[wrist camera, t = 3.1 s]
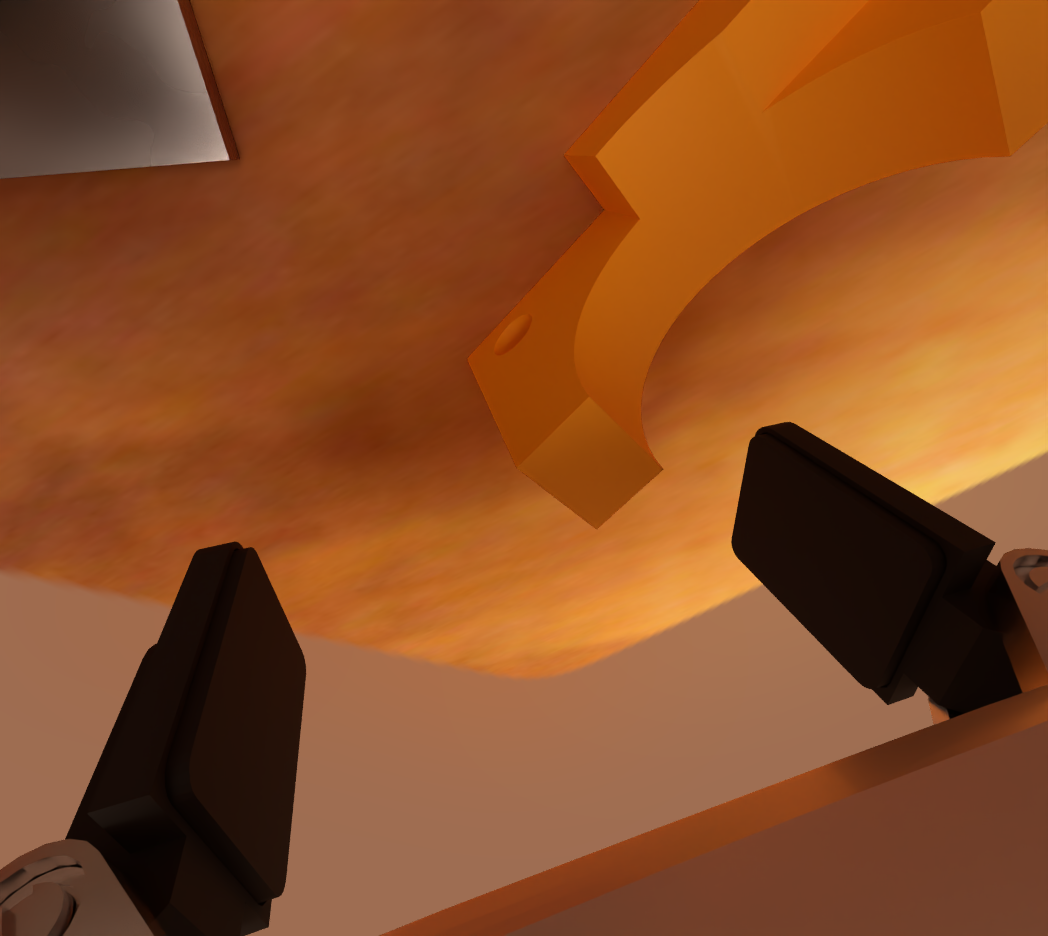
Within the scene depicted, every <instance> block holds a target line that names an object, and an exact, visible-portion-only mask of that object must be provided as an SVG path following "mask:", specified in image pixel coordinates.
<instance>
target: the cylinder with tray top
mask: <svg viewBox="0 0 1048 936" xmlns="http://www.w3.org/2000/svg"><path fill="white" fill-rule="evenodd" d="M237 159H240V158H239V155H238V152H237V149H236V146H235V143H234V139H233V136H232V133H231V130H230V127H229V124H228V120H227V117H226V114H225V111H224V108H223V105H222V102H221V98H220V95H219V92H218V89H217V86H216V83H215V79H214V76H213V73H212V70H211V67H210V64H209V61H208V57H207V54H206V51H205V48H204V45H203V42H202V38H201V35H200V32H199V29H198V26H197V23H196V20H195V16H194V13H193V10H192V7H191V4H190V1H189V0H0V179H2V178H15V177H27V176H39V175H52V174H64V173H76V172H89V171H101V170H113V169H126V168H138V167H150V166H163V165H175V164H187V163H200V162H212V161H224V160H237Z"/></svg>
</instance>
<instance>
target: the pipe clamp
mask: <svg viewBox="0 0 1048 936" xmlns="http://www.w3.org/2000/svg"><path fill="white" fill-rule="evenodd" d="M1047 123H1048V0H699V1H698V2H697V4H696V5H695V6H694V7H693V8H692V9H691V10H690V12H689V13H688V14H687V15H686V16H685V17H684V18H683V20H682V21H681V22H680V23H679V24H678V25H677V26H676V28H675V29H674V30H673V31H672V32H671V33H670V34H669V35H668V37H667V38H666V39H665V40H664V41H663V42H662V43H661V45H660V46H659V47H658V48H657V49H656V50H655V51H654V53H653V54H652V55H651V56H650V57H649V58H648V59H647V61H646V62H645V63H644V64H643V65H642V66H641V67H640V69H639V70H638V71H637V72H636V73H635V74H634V75H633V77H632V78H631V79H630V80H629V81H628V82H627V83H626V85H625V86H624V87H623V88H622V89H621V90H620V91H619V93H618V94H617V95H616V96H615V97H614V98H613V99H612V101H611V102H610V103H609V104H608V105H607V106H606V107H605V109H604V110H603V111H602V112H601V113H600V114H599V115H598V116H597V118H596V119H595V120H594V121H593V122H592V123H591V124H590V126H589V127H588V128H587V129H586V130H585V131H584V132H583V134H582V135H581V136H580V137H579V138H578V139H577V140H576V142H575V143H574V144H573V145H572V146H571V147H570V148H569V150H568V151H567V152H566V153H565V154H564V157H565V158H566V159H567V161H568V162H569V163H570V165H571V166H572V167H573V169H574V170H575V171H576V173H577V174H578V175H579V177H580V178H581V179H582V181H583V182H584V183H585V185H586V186H587V187H588V189H589V190H590V191H591V193H592V194H593V195H594V197H595V198H596V199H597V201H598V202H599V203H600V205H601V206H602V207H603V209H604V211H603V212H602V213H601V214H600V215H599V216H598V217H597V218H596V219H595V221H594V222H593V223H592V224H591V225H590V226H589V227H588V228H587V229H586V230H585V231H584V232H583V234H582V235H581V236H580V237H579V238H578V239H577V240H576V241H575V242H574V243H573V244H572V245H571V247H570V248H569V249H568V250H567V251H566V252H565V253H564V254H563V255H562V256H561V257H560V258H559V260H558V261H557V262H556V263H555V264H554V265H553V266H552V267H551V268H550V269H549V270H548V271H547V273H546V274H545V275H544V276H543V277H542V278H541V279H540V280H539V281H538V282H537V283H536V284H535V286H534V287H533V288H532V289H531V290H530V291H529V292H528V293H527V294H526V295H525V296H524V297H523V299H522V300H521V301H520V302H519V303H518V304H517V305H516V306H515V307H514V308H513V309H512V310H511V311H510V313H509V314H508V315H507V316H506V317H505V318H504V319H503V320H502V321H501V322H500V323H499V324H498V326H497V327H496V328H495V329H494V330H493V331H492V332H491V333H490V334H489V335H488V336H487V337H486V339H485V340H484V341H483V342H482V343H481V344H480V345H479V346H478V347H477V348H476V349H475V350H474V352H473V353H472V354H471V355H470V356H469V357H468V358H467V361H468V363H469V365H470V367H471V370H472V372H473V374H474V376H475V378H476V381H477V383H478V385H479V387H480V389H481V392H482V394H483V396H484V398H485V400H486V402H487V405H488V407H489V409H490V411H491V413H492V416H493V418H494V420H495V422H496V424H497V426H498V429H499V431H500V433H501V435H502V437H503V440H504V442H505V444H506V446H507V448H508V451H509V453H510V455H511V457H512V459H513V461H514V464H515V466H516V468H517V469H518V470H520V471H521V472H522V473H524V474H525V475H526V476H527V477H529V478H530V479H531V480H533V481H534V482H535V483H537V484H538V485H539V486H541V487H542V488H543V489H544V490H546V491H547V492H548V493H550V494H551V495H552V496H554V497H555V498H556V499H557V500H559V501H560V502H561V503H563V504H564V505H565V506H567V507H568V508H569V509H571V510H572V511H573V512H574V513H576V514H577V515H578V516H580V517H581V518H582V519H584V520H585V521H586V522H587V523H589V524H590V525H591V526H593V527H594V528H595V529H598V528H599V527H600V526H601V525H602V524H603V523H604V522H605V521H607V520H608V519H609V518H610V517H611V516H612V515H613V514H614V513H615V512H617V511H618V510H619V509H620V508H621V507H622V506H623V505H624V504H625V503H627V502H628V501H629V500H630V499H631V498H632V497H633V496H634V495H635V494H636V493H638V492H639V491H640V490H641V489H642V488H643V487H644V486H645V485H646V484H648V483H649V482H650V481H651V480H652V479H653V478H654V477H655V476H656V475H658V474H659V473H660V472H661V471H662V470H663V468H662V467H661V466H660V464H659V463H658V462H657V460H656V459H655V458H654V456H653V454H652V452H651V450H650V449H649V447H648V444H647V441H646V439H645V436H644V432H643V427H642V421H641V401H642V393H643V388H644V383H645V379H646V376H647V373H648V370H649V367H650V364H651V362H652V360H653V357H654V355H655V353H656V351H657V349H658V347H659V345H660V343H661V341H662V340H663V338H664V337H665V335H666V333H667V332H668V330H669V328H670V327H671V326H672V324H673V323H674V321H675V320H676V319H677V317H678V316H679V314H680V313H681V312H682V311H683V309H684V308H685V307H686V306H687V305H688V303H689V302H690V301H691V300H692V299H693V298H694V297H695V295H696V294H697V293H698V292H699V291H700V290H701V289H702V288H703V287H704V286H705V285H706V284H707V283H708V282H709V281H710V280H711V279H712V278H713V277H714V276H715V275H716V274H717V273H719V272H720V271H721V270H722V269H723V268H724V267H725V266H726V265H728V264H729V263H730V262H731V261H732V260H734V259H735V258H736V257H737V256H739V255H740V254H741V253H742V252H744V251H745V250H746V249H748V248H749V247H750V246H752V245H753V244H755V243H756V242H757V241H759V240H760V239H762V238H763V237H765V236H766V235H768V234H769V233H771V232H772V231H774V230H775V229H777V228H778V227H780V226H782V225H783V224H785V223H787V222H788V221H790V220H792V219H793V218H795V217H797V216H799V215H800V214H802V213H804V212H806V211H808V210H810V209H812V208H814V207H816V206H817V205H819V204H822V203H824V202H826V201H828V200H830V199H832V198H834V197H836V196H839V195H841V194H843V193H846V192H848V191H850V190H853V189H855V188H858V187H860V186H863V185H865V184H868V183H871V182H874V181H877V180H879V179H882V178H885V177H888V176H892V175H895V174H898V173H902V172H905V171H908V170H912V169H917V168H921V167H925V166H929V165H933V164H939V163H945V162H950V161H956V160H963V159H972V158H982V157H1006V156H1011V155H1012V154H1013V153H1015V152H1016V151H1017V150H1018V149H1019V148H1020V147H1021V146H1022V145H1023V144H1025V143H1026V142H1027V141H1028V140H1029V139H1030V138H1031V137H1032V136H1033V135H1035V134H1036V133H1037V132H1038V131H1039V130H1040V129H1041V128H1042V127H1043V126H1045V125H1046V124H1047Z"/></svg>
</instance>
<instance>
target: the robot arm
mask: <svg viewBox="0 0 1048 936" xmlns="http://www.w3.org/2000/svg"><path fill="white" fill-rule="evenodd" d="M731 543H732V548H733V551H734V553H735V555H736V556H737V558H738V559H739V560H740V561H741V562H742V563H743V564H744V565H745V566H746V567H747V568H748V569H749V570H750V571H751V572H752V573H753V574H754V575H755V576H756V577H757V578H758V579H759V580H760V581H761V582H762V583H763V585H764V586H765V587H766V588H767V589H768V590H769V591H770V592H771V593H772V594H773V595H774V596H775V597H776V598H777V599H778V600H779V601H780V602H781V603H782V604H783V605H784V606H785V607H786V608H787V609H788V610H789V611H790V612H791V613H792V614H793V615H794V616H795V617H796V618H797V620H798V621H799V622H800V623H801V624H802V625H803V626H804V627H805V628H806V629H807V630H808V631H809V632H810V633H811V634H812V635H813V636H814V637H815V638H816V639H817V640H818V641H819V642H820V643H821V644H822V645H823V646H824V647H825V648H826V649H827V650H828V651H829V652H830V654H831V655H832V656H833V657H834V658H835V659H836V660H837V661H838V662H839V663H840V664H841V665H842V666H843V667H844V668H845V669H846V670H847V671H848V672H849V673H850V674H851V675H852V676H853V677H854V678H855V679H856V680H857V681H858V682H859V683H860V684H861V685H862V686H864V687H866V688H869V689H872V690H873V691H874V692H875V693H876V694H877V695H878V696H879V697H880V698H881V699H882V700H883V701H884V702H885V703H886V704H887V705H889V704H892V703H895V702H897V701H900V700H903V699H906V698H909V697H912V696H913V695H914V694H915V692H916V690H917V687H919V688H920V689H922V691H924V692H925V693H926V694H927V695H928V702H929V706H930V710H931V715H932V720H933V724H934V725H932V726H930V727H927V728H924V729H922V730H919V731H916V732H914V733H911V734H908V735H905V736H903V737H900V738H897V739H894V740H892V741H889V742H886V743H884V744H881V745H878V746H875V747H873V748H870V749H867V750H865V751H862V752H859V753H857V754H854V755H851V756H848V757H846V758H843V759H840V760H838V761H835V762H832V763H830V764H827V765H824V766H822V767H819V768H816V769H814V770H811V771H808V772H806V773H803V774H800V775H798V776H795V777H792V778H790V779H787V780H784V781H782V782H779V783H776V784H774V785H771V786H768V787H766V788H763V789H760V790H758V791H755V792H752V793H750V794H747V795H744V796H742V797H739V798H736V799H734V800H731V801H728V802H726V803H723V804H721V805H718V806H715V807H712V808H710V809H707V810H705V811H702V812H700V813H697V814H694V815H691V816H688V817H686V818H683V819H681V820H678V821H676V822H673V823H670V824H667V825H665V826H662V827H659V828H657V829H654V830H651V831H649V832H646V833H643V834H641V835H638V836H636V837H633V838H630V839H628V840H625V841H622V842H620V843H617V844H615V845H612V846H609V847H607V848H604V849H601V850H599V851H596V852H593V853H591V854H588V855H586V856H583V857H581V858H578V859H575V860H573V861H570V862H567V863H565V864H562V865H559V866H557V867H554V868H552V869H549V870H546V871H544V872H541V873H539V874H536V875H533V876H531V877H528V878H525V879H523V880H520V881H518V882H515V883H512V884H510V885H507V886H505V887H502V888H499V889H497V890H494V891H491V892H489V893H486V894H483V895H481V896H478V897H476V898H473V899H470V900H468V901H465V902H463V903H460V904H457V905H455V906H452V907H449V908H447V909H444V910H442V911H439V912H437V913H435V914H432V915H429V916H427V917H424V918H422V919H419V920H417V921H414V922H412V923H409V924H407V925H404V926H402V927H399V928H397V929H395V930H392V931H389V932H387V933H384V934H382V935H379V936H1048V550H1041V549H1031V548H1025V549H1014V550H1012V551H1009V552H1007V553H1005V554H1004V555H1003V557H1002V558H1001V560H1000V561H999V563H998V565H997V566H995V565H994V564H992V563H991V562H989V561H988V560H987V557H988V556H989V554H990V552H991V550H992V548H993V546H994V545H995V542H994V541H992V540H990V539H989V538H987V537H985V536H984V535H982V534H980V533H979V532H977V531H975V530H973V529H972V528H970V527H968V526H967V525H965V524H963V523H962V522H960V521H958V520H957V519H955V518H953V517H952V516H950V515H948V514H946V513H945V512H943V511H941V510H940V509H938V508H936V507H935V506H933V505H931V504H930V503H928V502H926V501H924V500H923V499H921V498H919V497H918V496H916V495H914V494H913V493H911V492H909V491H908V490H906V489H904V488H903V487H901V486H899V485H897V484H896V483H894V482H892V481H891V480H889V479H887V478H886V477H884V476H882V475H881V474H879V473H877V472H875V471H874V470H872V469H870V468H869V467H867V466H865V465H864V464H862V463H860V462H859V461H857V460H855V459H853V458H852V457H850V456H848V455H847V454H845V453H843V452H842V451H840V450H838V449H837V448H835V447H833V446H831V445H830V444H828V443H826V442H825V441H823V440H821V439H820V438H818V437H816V436H815V435H813V434H811V433H809V432H808V431H806V430H804V429H803V428H801V427H799V426H798V425H796V424H794V423H791V422H784V423H780V424H775V425H771V426H766V427H762V428H760V429H759V430H758V431H757V432H756V434H755V437H753V438H752V439H751V440H750V443H749V447H748V453H747V458H746V463H745V469H744V474H743V480H742V485H741V491H740V496H739V502H738V507H737V513H736V518H735V524H734V529H733V535H732V542H731ZM305 680H306V664H305V659H304V655H303V653H302V650H301V648H300V646H299V644H298V641H297V639H296V637H295V635H294V633H293V631H292V628H291V626H290V624H289V622H288V620H287V617H286V615H285V613H284V611H283V609H282V607H281V604H280V602H279V600H278V598H277V596H276V593H275V591H274V589H273V587H272V585H271V583H270V580H269V578H268V576H267V574H266V572H265V570H264V567H263V565H262V563H261V561H260V559H259V556H258V554H257V552H256V551H255V550H254V548H252V547H250V548H245V549H243V547H242V546H241V545H240V544H239V543H238V542H231V543H227V544H222V545H217V546H213V547H208V548H204V549H199V550H198V551H196V552H195V554H194V556H193V558H192V561H191V563H190V565H189V568H188V570H187V573H186V575H185V578H184V580H183V582H182V585H181V587H180V590H179V592H178V594H177V597H176V599H175V602H174V604H173V607H172V609H171V611H170V614H169V616H168V619H167V621H166V623H165V626H164V628H163V631H162V633H161V636H160V638H159V640H158V643H157V644H155V645H153V646H152V647H151V648H149V649H148V651H147V653H146V654H145V656H144V658H143V659H142V662H141V664H140V666H139V669H138V671H137V673H136V676H135V678H134V680H133V683H132V686H131V688H130V690H129V692H128V694H127V697H126V699H125V701H124V704H123V706H122V708H121V711H120V713H119V715H118V718H117V720H116V722H115V725H114V727H113V729H112V732H111V734H110V736H109V738H108V741H107V743H106V745H105V748H104V750H103V753H102V755H101V757H100V759H99V762H98V764H97V767H96V769H95V771H94V773H93V776H92V778H91V780H90V783H89V785H88V787H87V790H86V792H85V794H84V797H83V799H82V801H81V804H80V806H79V808H78V811H77V813H76V815H75V818H74V820H73V822H72V825H71V827H70V829H69V831H68V834H67V836H66V838H65V840H61V841H57V842H52V843H48V844H45V845H42V846H40V847H38V848H36V849H34V850H32V851H30V852H28V853H26V854H24V855H22V856H20V857H18V858H17V859H15V860H14V861H12V862H11V863H9V864H8V865H6V866H5V867H4V868H2V869H1V870H0V936H245V935H248V934H251V933H254V932H256V931H259V930H262V929H265V928H267V927H269V919H270V910H271V901H272V899H273V898H276V897H279V896H280V895H281V894H282V893H283V891H284V887H285V882H286V875H287V864H288V854H289V843H290V833H291V823H292V813H293V802H294V793H295V782H296V772H297V761H298V750H299V741H300V730H301V721H302V710H303V700H304V690H305Z"/></svg>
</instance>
